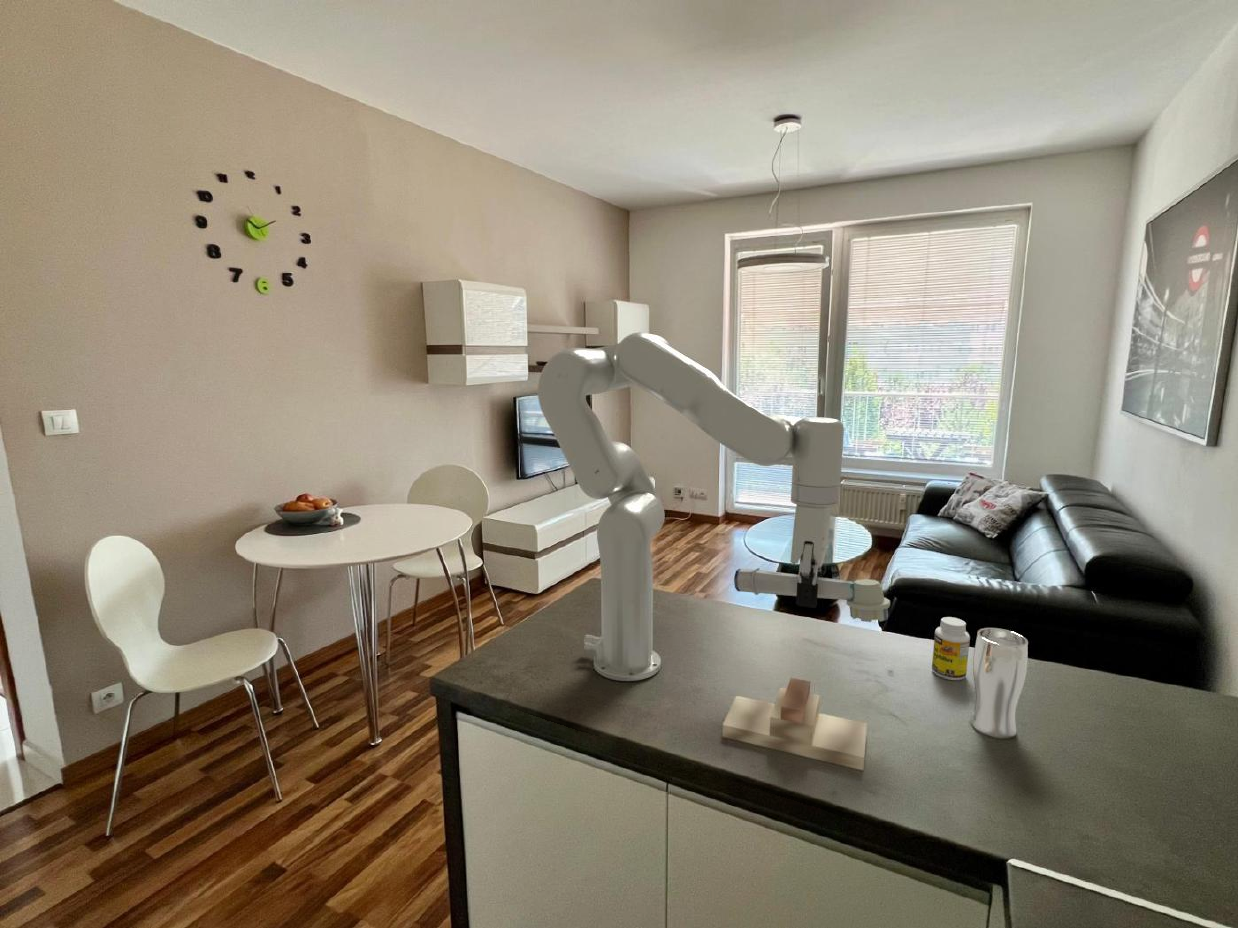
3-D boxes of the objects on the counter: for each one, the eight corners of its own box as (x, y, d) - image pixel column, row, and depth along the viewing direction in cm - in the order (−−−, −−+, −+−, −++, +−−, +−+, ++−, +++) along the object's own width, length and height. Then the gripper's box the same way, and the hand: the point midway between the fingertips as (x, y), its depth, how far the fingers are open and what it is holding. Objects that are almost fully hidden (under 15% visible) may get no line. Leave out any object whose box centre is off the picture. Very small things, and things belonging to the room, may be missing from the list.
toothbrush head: (743, 564, 113) (890, 572, 99) (746, 599, 113) (893, 613, 99) (731, 572, 109) (884, 582, 95) (734, 609, 109) (887, 624, 95)
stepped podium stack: (722, 736, 95) (723, 694, 93) (736, 706, 103) (737, 667, 101) (863, 770, 87) (866, 724, 85) (866, 735, 95) (868, 692, 94)
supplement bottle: (924, 670, 115) (928, 617, 113) (946, 664, 117) (950, 612, 115) (951, 684, 110) (956, 629, 108) (973, 678, 112) (978, 624, 110)
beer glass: (1001, 745, 92) (1011, 650, 90) (957, 721, 98) (965, 632, 96) (1029, 732, 95) (1039, 640, 93) (985, 710, 101) (993, 623, 99)
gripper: (798, 482, 110) (793, 580, 113) (783, 502, 95) (777, 614, 98) (843, 486, 107) (836, 586, 110) (834, 507, 92) (827, 623, 95)
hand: (808, 598), depth 104 cm, fingers closed on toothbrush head, 5 cm apart
